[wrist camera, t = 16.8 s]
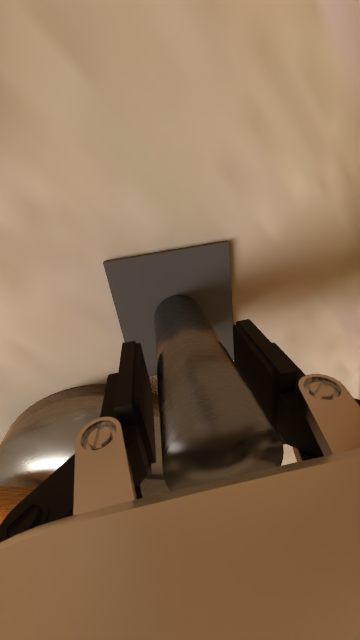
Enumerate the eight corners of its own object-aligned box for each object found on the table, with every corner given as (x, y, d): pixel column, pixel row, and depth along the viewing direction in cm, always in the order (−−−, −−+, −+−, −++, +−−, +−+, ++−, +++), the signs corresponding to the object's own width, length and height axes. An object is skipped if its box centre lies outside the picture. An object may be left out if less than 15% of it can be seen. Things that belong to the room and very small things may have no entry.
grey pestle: (156, 292, 15) (169, 415, 5) (206, 296, 15) (298, 416, 6) (152, 338, 16) (157, 509, 6) (198, 341, 16) (266, 503, 7)
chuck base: (-38, 409, 16) (-73, 450, 14) (184, 365, 18) (192, 395, 15) (46, 528, 23) (33, 570, 20) (204, 491, 24) (212, 527, 21)
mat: (104, 261, 14) (103, 262, 13) (227, 240, 14) (229, 241, 14) (135, 375, 17) (135, 379, 17) (232, 356, 18) (234, 359, 17)
